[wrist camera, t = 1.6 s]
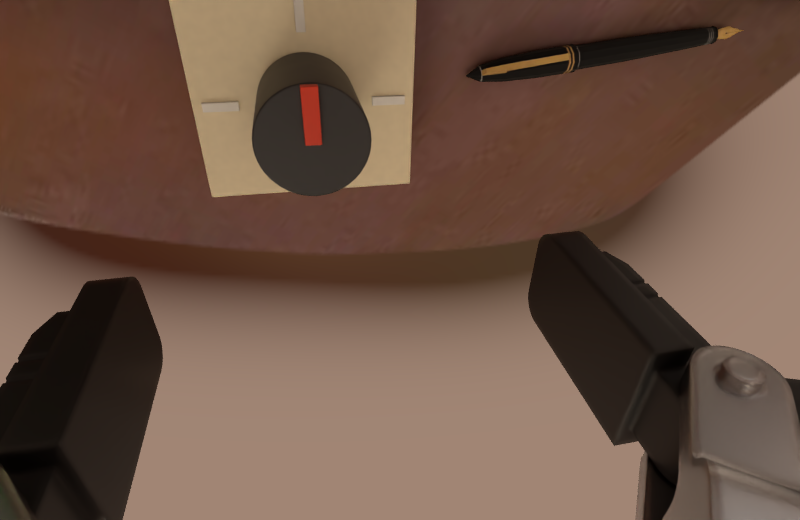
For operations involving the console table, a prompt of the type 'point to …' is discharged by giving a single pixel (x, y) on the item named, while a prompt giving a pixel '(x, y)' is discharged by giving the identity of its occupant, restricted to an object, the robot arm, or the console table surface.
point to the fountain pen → (594, 54)
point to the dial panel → (279, 36)
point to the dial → (309, 125)
